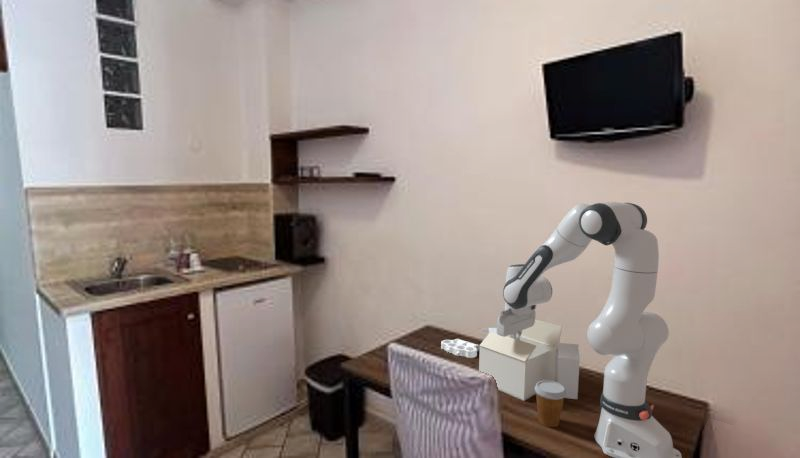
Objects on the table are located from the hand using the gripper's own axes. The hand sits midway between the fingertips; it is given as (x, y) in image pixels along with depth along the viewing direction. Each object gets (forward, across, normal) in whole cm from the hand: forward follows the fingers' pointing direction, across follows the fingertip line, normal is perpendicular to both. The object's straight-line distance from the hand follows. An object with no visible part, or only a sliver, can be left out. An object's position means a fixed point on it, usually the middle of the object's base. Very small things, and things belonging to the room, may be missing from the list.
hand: (515, 342), depth 169 cm
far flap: (-2, +14, 0) cm, 15 cm away
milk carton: (+17, +7, -17) cm, 25 cm away
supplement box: (+17, +15, +19) cm, 30 cm away
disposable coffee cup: (+17, -15, -23) cm, 32 cm away
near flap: (0, -5, 0) cm, 5 cm away
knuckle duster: (+17, +10, +35) cm, 40 cm away
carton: (+16, +2, 0) cm, 17 cm away
